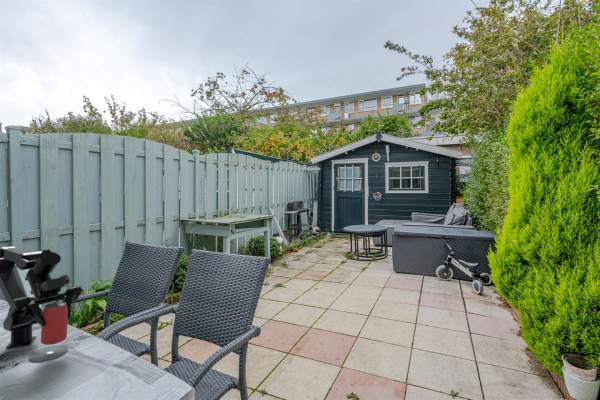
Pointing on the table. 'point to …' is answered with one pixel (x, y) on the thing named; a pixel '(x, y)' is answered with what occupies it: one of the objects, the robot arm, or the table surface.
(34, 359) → the slate coaster
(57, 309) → the beer can
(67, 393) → the table surface
